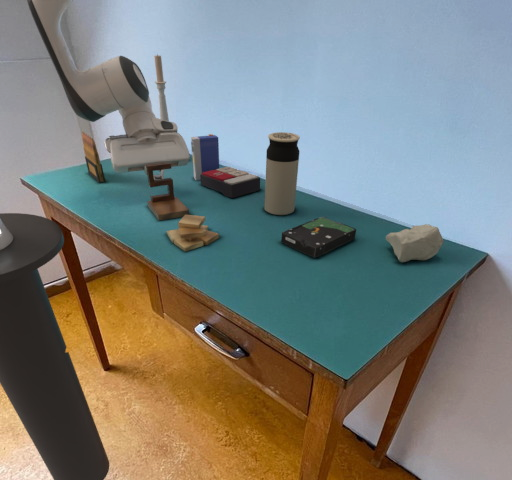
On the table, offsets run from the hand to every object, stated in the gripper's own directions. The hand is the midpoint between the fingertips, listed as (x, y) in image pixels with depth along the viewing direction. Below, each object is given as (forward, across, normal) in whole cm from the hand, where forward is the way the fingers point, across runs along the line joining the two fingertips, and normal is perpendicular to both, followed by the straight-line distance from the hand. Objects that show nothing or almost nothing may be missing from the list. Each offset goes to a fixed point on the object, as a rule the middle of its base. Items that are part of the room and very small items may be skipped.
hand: (159, 182), depth 104 cm
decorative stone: (+39, +41, -31) cm, 65 cm away
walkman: (-7, +19, +15) cm, 25 cm away
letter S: (+8, 0, 0) cm, 8 cm away
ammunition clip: (-16, -12, +24) cm, 31 cm away
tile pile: (+21, 0, -13) cm, 24 cm away
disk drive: (+30, +26, -22) cm, 45 cm away
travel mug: (+16, +27, -8) cm, 32 cm away
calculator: (+1, +22, +7) cm, 23 cm away
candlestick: (-23, +14, +31) cm, 41 cm away
